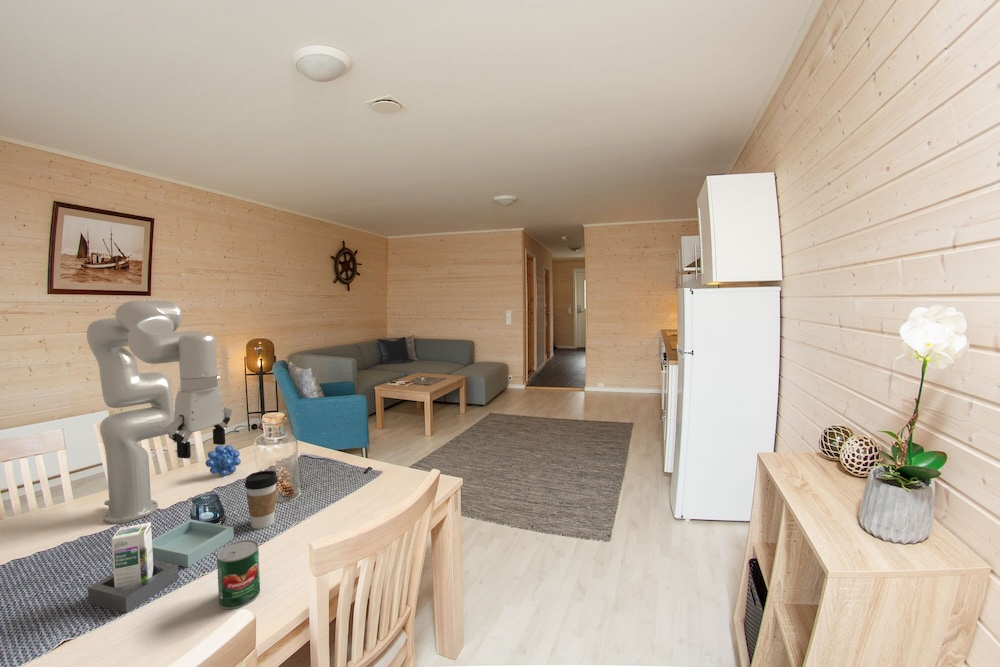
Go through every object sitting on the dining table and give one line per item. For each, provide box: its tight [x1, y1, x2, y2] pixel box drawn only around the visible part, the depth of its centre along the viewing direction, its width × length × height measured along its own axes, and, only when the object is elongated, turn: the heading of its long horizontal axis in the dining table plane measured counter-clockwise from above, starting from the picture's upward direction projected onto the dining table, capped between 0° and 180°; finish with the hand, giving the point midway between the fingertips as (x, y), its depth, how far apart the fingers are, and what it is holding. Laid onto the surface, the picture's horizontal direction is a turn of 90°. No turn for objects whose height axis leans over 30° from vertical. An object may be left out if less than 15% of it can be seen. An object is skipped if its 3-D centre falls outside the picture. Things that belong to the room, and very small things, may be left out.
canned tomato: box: [216, 539, 261, 610], centre depth 92 cm, size 8×8×11 cm
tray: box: [152, 519, 235, 568], centre depth 111 cm, size 15×13×3 cm
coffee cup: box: [244, 470, 278, 530], centre depth 122 cm, size 8×8×15 cm
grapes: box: [205, 444, 242, 477], centre depth 154 cm, size 12×7×12 cm, turn 146°
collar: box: [87, 560, 179, 614], centre depth 94 cm, size 11×11×4 cm
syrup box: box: [111, 521, 154, 591], centre depth 94 cm, size 6×6×14 cm
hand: (202, 450), depth 104 cm, fingers open, 9 cm apart
